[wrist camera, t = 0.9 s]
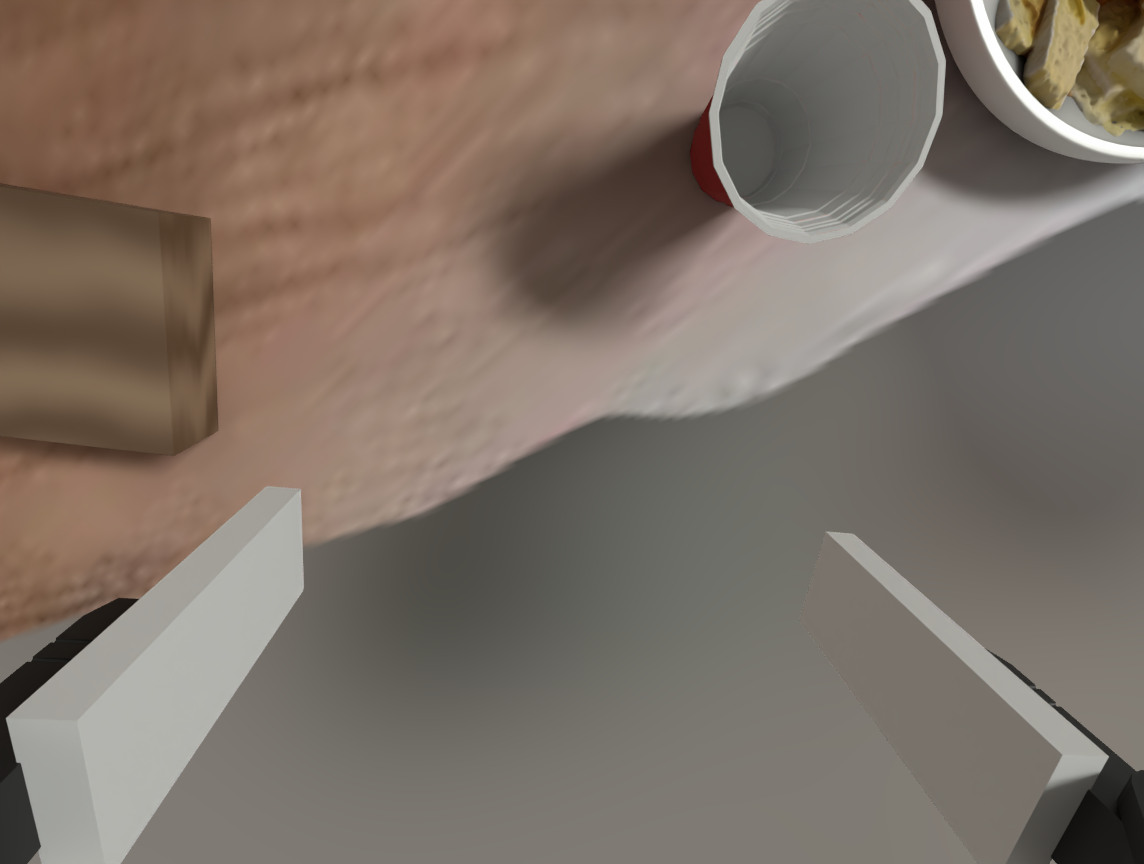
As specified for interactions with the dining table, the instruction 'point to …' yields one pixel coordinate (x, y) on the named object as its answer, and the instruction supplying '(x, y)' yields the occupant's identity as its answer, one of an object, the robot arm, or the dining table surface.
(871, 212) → the plastic cup
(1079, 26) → the bowl
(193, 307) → the walnut block
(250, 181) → the dining table surface
